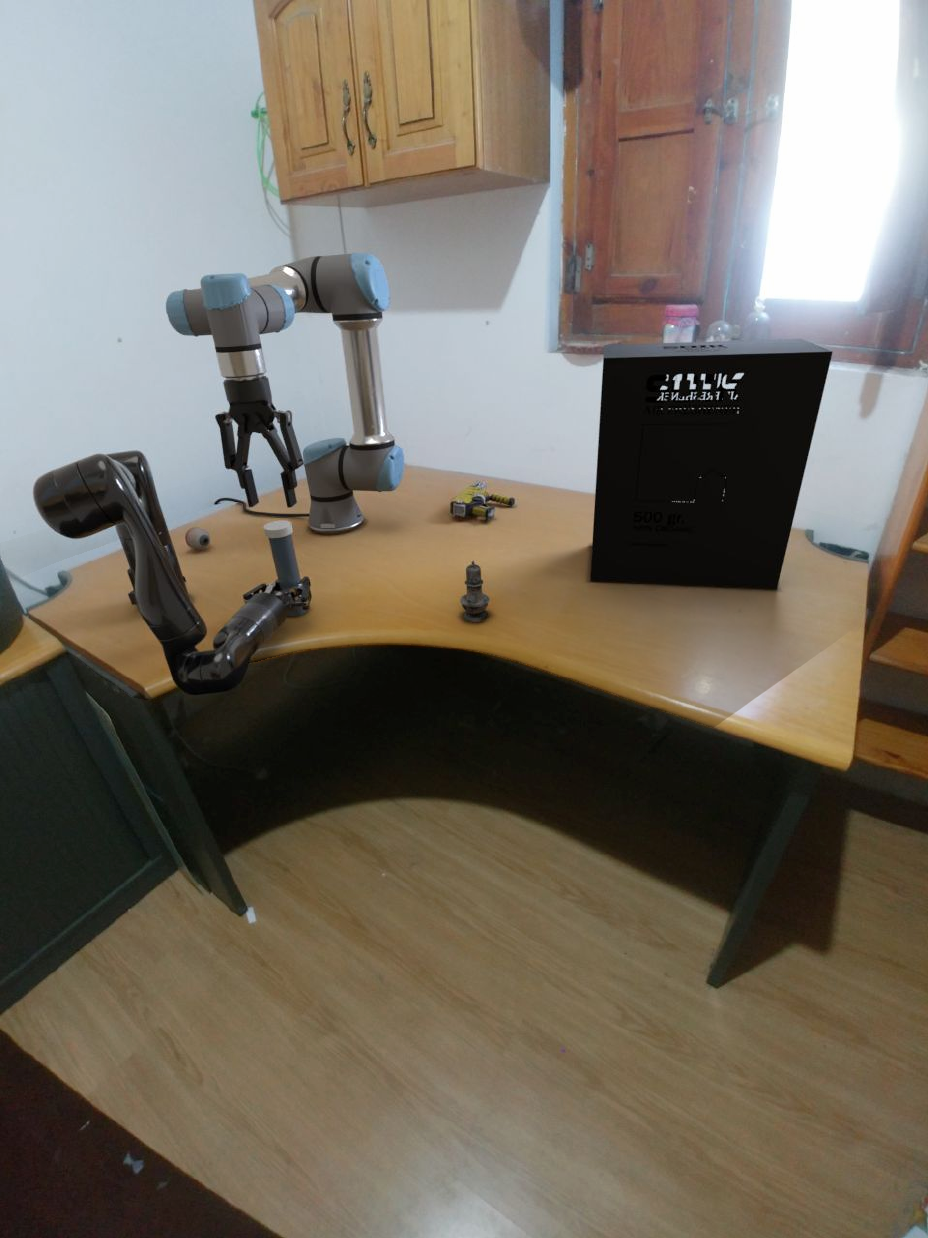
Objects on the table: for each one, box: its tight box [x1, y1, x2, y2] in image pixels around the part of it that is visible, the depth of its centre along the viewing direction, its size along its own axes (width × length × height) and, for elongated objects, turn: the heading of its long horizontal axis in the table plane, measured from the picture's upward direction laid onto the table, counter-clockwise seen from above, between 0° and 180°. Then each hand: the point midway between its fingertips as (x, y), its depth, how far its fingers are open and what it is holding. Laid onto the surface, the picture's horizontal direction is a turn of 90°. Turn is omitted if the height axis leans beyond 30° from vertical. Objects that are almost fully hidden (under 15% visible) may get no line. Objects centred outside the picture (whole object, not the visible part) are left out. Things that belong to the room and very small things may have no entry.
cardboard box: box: [589, 338, 834, 590], centre depth 125 cm, size 38×20×45 cm, turn 78°
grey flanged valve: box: [459, 560, 491, 623], centre depth 118 cm, size 6×6×12 cm
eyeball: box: [184, 526, 211, 551], centre depth 157 cm, size 6×6×6 cm
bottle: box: [267, 533, 308, 617], centre depth 122 cm, size 4×4×19 cm
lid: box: [263, 519, 294, 539], centre depth 117 cm, size 5×5×2 cm
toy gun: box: [449, 480, 516, 522], centre depth 174 cm, size 5×24×15 cm
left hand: (296, 580), depth 126 cm, fingers closed on bottle, 4 cm apart
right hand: (273, 504), depth 115 cm, fingers open, 7 cm apart
